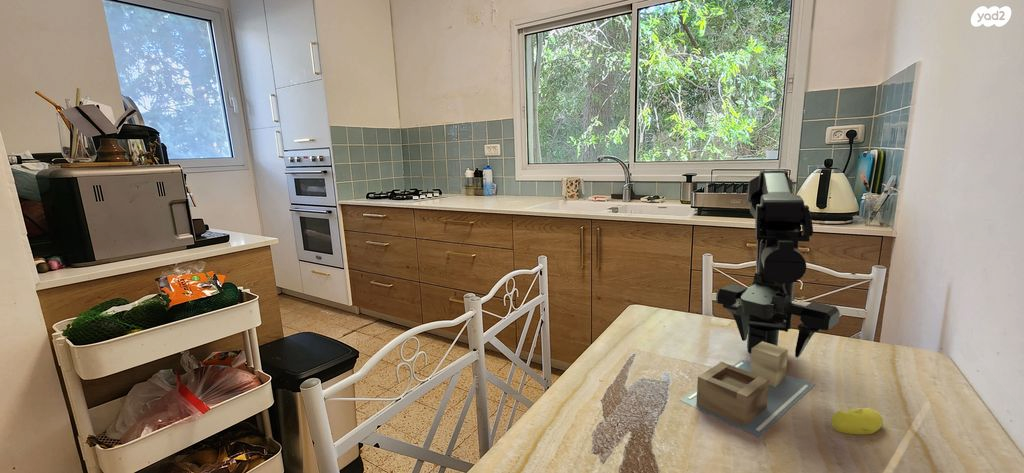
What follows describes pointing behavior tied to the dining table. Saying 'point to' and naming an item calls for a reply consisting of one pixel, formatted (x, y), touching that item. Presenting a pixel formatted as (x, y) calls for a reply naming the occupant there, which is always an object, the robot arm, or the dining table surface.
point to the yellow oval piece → (857, 421)
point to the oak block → (769, 362)
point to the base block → (732, 393)
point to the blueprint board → (777, 402)
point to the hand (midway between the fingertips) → (769, 348)
